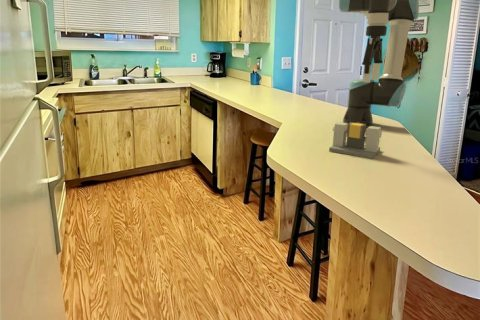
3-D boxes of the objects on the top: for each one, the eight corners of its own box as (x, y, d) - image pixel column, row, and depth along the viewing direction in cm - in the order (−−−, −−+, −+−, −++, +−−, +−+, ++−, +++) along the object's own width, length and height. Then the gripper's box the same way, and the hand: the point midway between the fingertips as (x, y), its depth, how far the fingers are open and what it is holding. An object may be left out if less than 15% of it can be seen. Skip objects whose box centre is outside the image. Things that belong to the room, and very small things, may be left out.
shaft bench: (337, 144, 157) (339, 120, 153) (381, 151, 147) (385, 125, 144) (327, 151, 147) (329, 125, 144) (374, 158, 138) (377, 131, 134)
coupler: (349, 134, 149) (350, 122, 147) (364, 136, 145) (366, 124, 144) (346, 136, 145) (347, 124, 144) (361, 138, 142) (363, 125, 141)
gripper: (374, 26, 154) (369, 77, 161) (358, 24, 135) (352, 82, 141) (393, 26, 151) (387, 78, 157) (379, 24, 131) (372, 84, 137)
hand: (370, 80), depth 149 cm, fingers open, 13 cm apart
